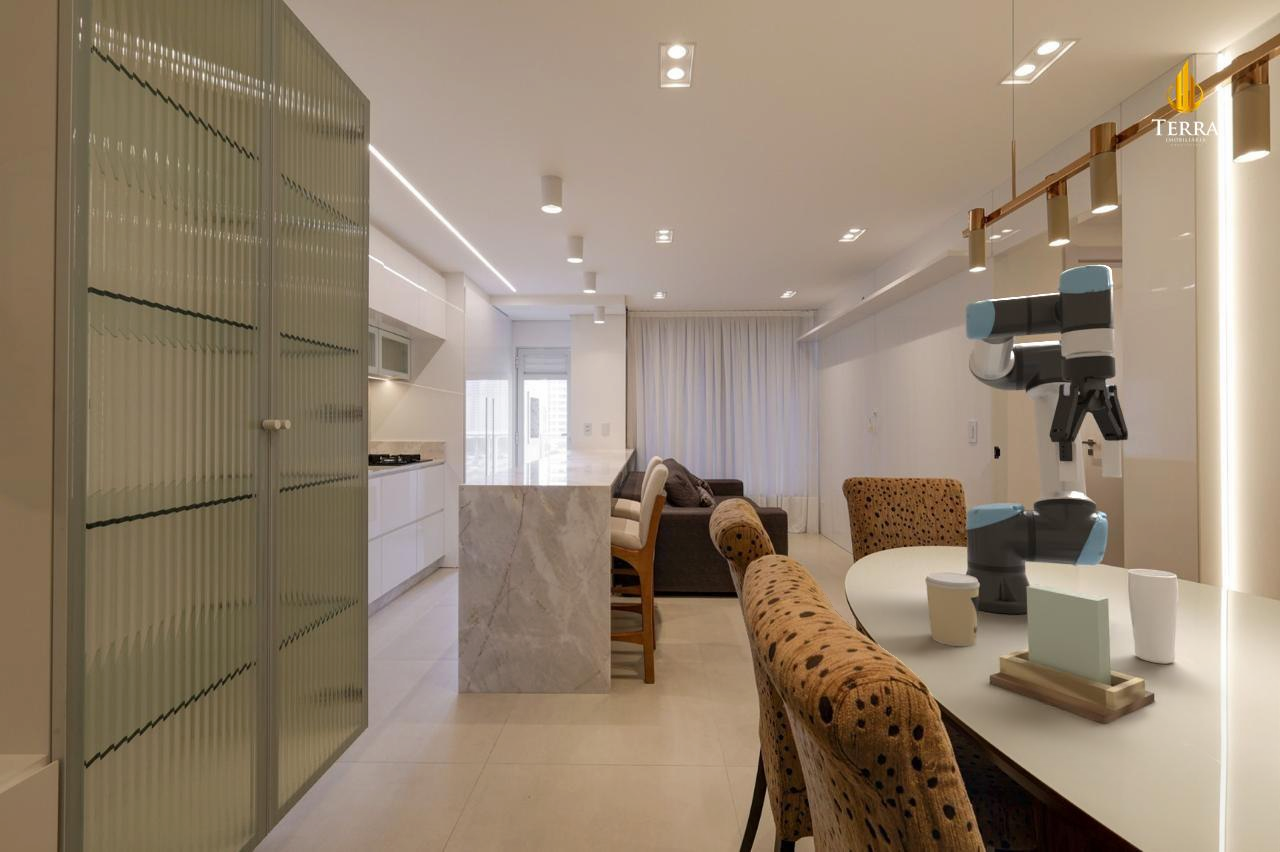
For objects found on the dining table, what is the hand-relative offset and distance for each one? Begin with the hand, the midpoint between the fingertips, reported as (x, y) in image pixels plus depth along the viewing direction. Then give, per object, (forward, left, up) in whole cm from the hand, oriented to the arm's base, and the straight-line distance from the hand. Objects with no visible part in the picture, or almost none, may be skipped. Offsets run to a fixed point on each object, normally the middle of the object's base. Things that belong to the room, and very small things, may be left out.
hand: (1091, 479), depth 105 cm
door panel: (+17, +4, -30) cm, 35 cm away
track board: (+17, +4, -32) cm, 36 cm away
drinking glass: (-10, +4, -32) cm, 34 cm away
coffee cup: (+10, -20, -32) cm, 39 cm away
